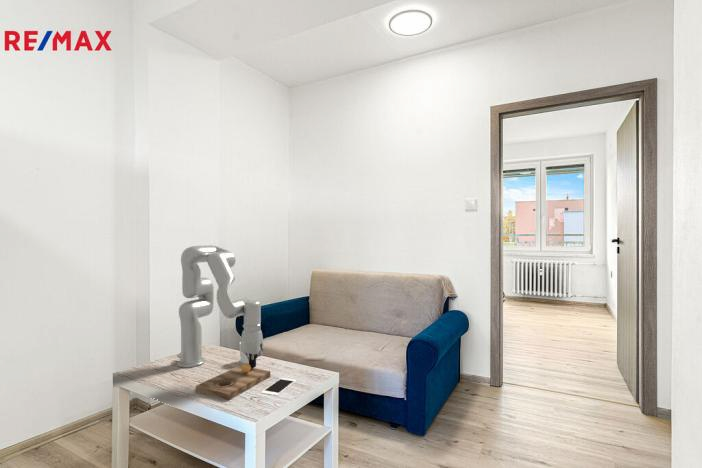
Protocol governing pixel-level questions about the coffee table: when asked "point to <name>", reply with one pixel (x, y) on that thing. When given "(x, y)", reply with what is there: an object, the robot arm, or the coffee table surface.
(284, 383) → the cell phone
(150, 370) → the coffee table surface
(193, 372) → the coffee table surface
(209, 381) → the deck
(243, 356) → the white cup
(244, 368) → the ball
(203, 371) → the coffee table surface
